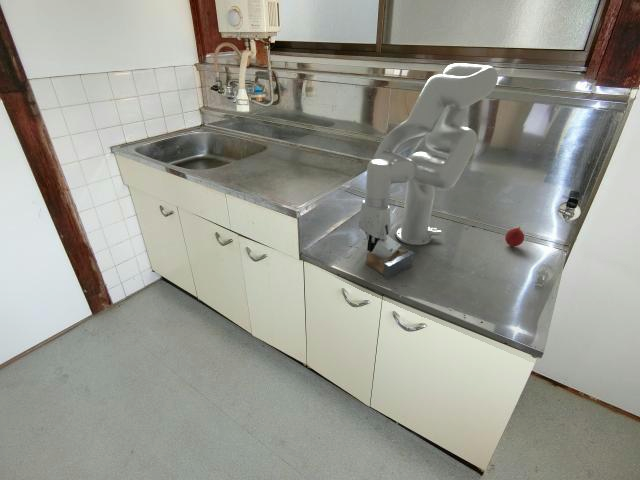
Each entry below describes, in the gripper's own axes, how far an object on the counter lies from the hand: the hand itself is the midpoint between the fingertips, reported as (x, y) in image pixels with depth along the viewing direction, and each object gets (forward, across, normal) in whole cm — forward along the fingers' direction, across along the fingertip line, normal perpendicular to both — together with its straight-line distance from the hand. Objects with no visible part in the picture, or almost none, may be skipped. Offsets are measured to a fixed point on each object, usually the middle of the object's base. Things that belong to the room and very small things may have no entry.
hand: (372, 250), depth 121 cm
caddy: (+3, +6, +1) cm, 6 cm away
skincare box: (+2, +4, 0) cm, 4 cm away
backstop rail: (+2, +11, +1) cm, 12 cm away
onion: (+2, +25, +45) cm, 51 cm away
